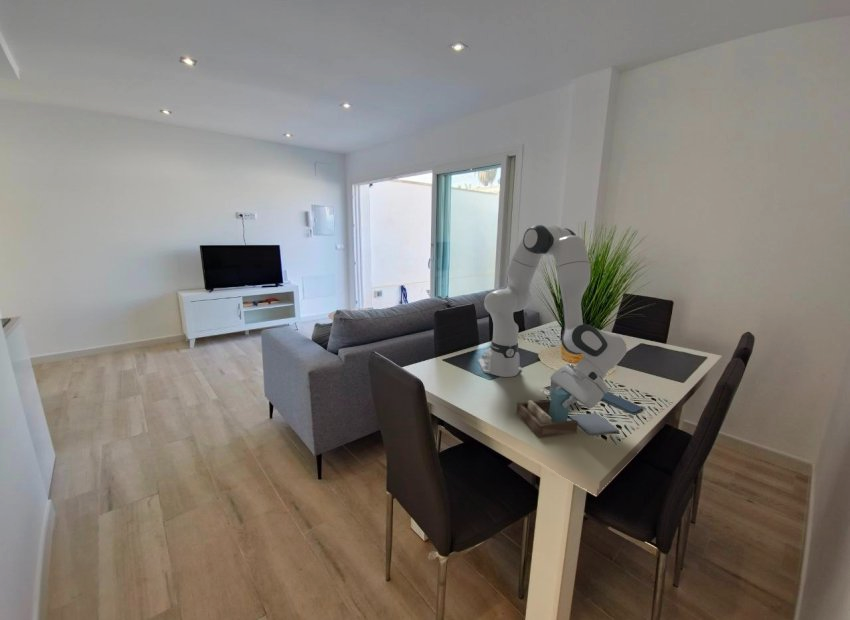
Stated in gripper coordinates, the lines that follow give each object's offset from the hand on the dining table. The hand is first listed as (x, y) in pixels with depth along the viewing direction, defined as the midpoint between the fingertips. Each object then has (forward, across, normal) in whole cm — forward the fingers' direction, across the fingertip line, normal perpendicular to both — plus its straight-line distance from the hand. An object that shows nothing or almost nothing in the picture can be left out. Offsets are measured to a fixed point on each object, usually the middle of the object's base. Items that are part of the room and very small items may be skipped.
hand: (558, 402), depth 119 cm
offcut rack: (+8, 0, +2) cm, 8 cm away
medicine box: (-4, -16, +14) cm, 22 cm away
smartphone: (-17, -7, +28) cm, 34 cm away
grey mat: (-3, +4, +13) cm, 14 cm away
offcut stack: (+10, 0, 0) cm, 10 cm away
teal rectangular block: (+5, 0, +6) cm, 7 cm away
